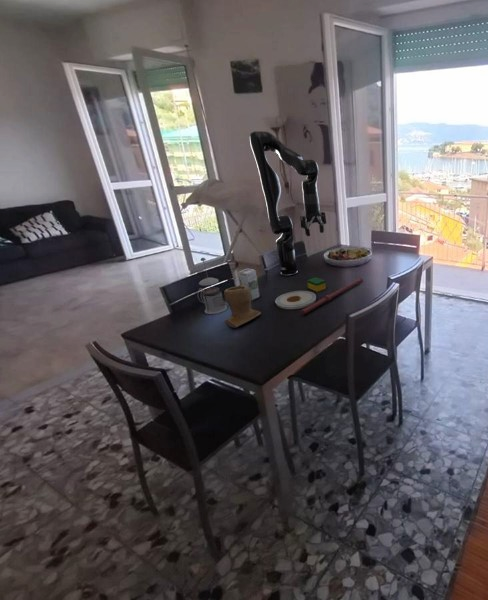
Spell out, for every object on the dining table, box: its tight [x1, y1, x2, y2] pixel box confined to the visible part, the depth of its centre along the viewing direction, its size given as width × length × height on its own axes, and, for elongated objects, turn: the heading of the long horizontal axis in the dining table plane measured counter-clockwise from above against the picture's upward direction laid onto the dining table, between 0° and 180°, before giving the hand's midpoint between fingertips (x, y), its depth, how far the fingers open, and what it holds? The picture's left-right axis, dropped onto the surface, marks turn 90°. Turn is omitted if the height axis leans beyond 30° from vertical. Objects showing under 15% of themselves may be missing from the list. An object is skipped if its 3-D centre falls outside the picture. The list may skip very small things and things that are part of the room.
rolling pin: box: [300, 277, 364, 316], centre depth 174 cm, size 45×3×3 cm, turn 151°
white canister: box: [237, 268, 261, 302], centre depth 172 cm, size 6×6×14 cm
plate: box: [274, 290, 317, 310], centre depth 172 cm, size 19×19×1 cm
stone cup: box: [223, 285, 262, 329], centre depth 151 cm, size 15×12×15 cm
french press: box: [197, 257, 228, 315], centre depth 159 cm, size 10×12×25 cm
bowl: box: [323, 246, 373, 268], centre depth 225 cm, size 30×30×8 cm
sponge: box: [306, 277, 327, 293], centre depth 185 cm, size 8×6×4 cm
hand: (315, 234), depth 185 cm, fingers open, 8 cm apart
